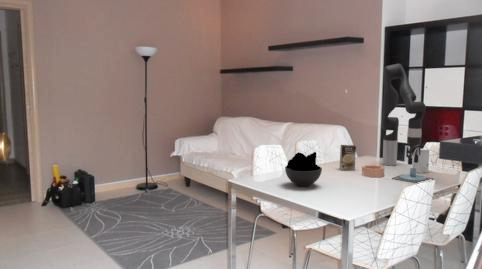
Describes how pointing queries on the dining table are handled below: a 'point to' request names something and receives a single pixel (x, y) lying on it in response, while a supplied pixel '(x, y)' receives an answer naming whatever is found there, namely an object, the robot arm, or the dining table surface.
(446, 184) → the dining table surface
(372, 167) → the bowl
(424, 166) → the skincare box
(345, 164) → the coffee box
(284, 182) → the dining table surface
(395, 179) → the mat
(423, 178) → the lid
